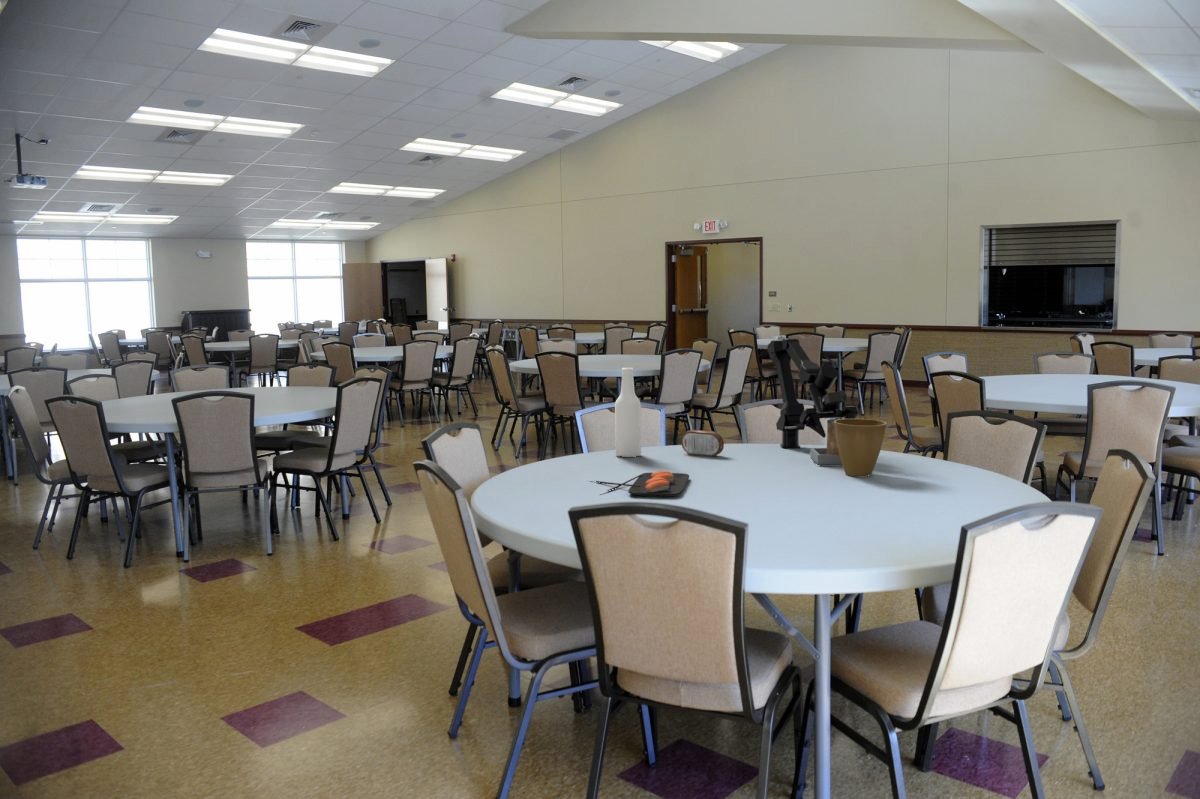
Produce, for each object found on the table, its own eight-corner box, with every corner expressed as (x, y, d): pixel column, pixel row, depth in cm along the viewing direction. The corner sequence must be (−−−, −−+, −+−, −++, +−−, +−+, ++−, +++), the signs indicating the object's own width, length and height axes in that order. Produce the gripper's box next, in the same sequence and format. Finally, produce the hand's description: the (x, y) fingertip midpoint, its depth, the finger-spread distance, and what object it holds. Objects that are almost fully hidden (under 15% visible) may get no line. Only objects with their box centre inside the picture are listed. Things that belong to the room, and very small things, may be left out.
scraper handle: (826, 459, 296) (827, 419, 294) (837, 458, 297) (838, 419, 295) (833, 461, 292) (833, 421, 290) (844, 460, 293) (844, 420, 291)
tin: (724, 456, 308) (724, 431, 307) (720, 457, 306) (720, 432, 305) (684, 452, 316) (684, 428, 315) (680, 454, 314) (680, 429, 313)
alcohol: (629, 452, 318) (628, 366, 314) (646, 455, 311) (645, 367, 308) (610, 455, 312) (609, 368, 309) (627, 458, 305) (626, 369, 302)
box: (810, 458, 302) (810, 447, 301) (852, 458, 301) (852, 447, 300) (817, 465, 288) (817, 455, 288) (861, 465, 287) (861, 454, 287)
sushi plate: (679, 501, 244) (679, 487, 243) (570, 497, 250) (569, 484, 249) (690, 479, 272) (690, 467, 272) (592, 477, 278) (591, 464, 278)
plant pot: (833, 478, 268) (834, 424, 266) (833, 469, 282) (834, 417, 281) (886, 480, 264) (888, 425, 263) (883, 470, 279) (884, 418, 277)
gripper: (804, 383, 293) (820, 422, 284) (856, 381, 298) (874, 419, 288) (792, 405, 301) (807, 443, 292) (843, 402, 306) (860, 440, 297)
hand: (837, 436), depth 292 cm, fingers open, 9 cm apart
